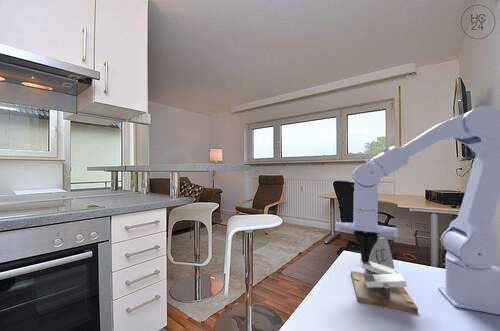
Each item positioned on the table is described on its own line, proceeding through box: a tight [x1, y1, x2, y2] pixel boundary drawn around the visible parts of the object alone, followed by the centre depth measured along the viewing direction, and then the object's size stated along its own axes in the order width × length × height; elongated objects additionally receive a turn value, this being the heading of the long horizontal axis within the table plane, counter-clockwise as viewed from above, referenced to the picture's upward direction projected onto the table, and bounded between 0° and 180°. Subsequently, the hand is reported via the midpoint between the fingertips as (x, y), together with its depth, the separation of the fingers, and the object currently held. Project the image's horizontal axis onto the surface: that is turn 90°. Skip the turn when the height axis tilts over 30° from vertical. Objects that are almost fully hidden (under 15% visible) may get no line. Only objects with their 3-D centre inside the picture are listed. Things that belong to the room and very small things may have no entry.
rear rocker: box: [359, 258, 398, 274], centre depth 56 cm, size 8×4×2 cm, turn 71°
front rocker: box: [363, 273, 408, 288], centre depth 50 cm, size 8×4×2 cm, turn 71°
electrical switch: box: [364, 237, 396, 274], centre depth 66 cm, size 9×5×9 cm, turn 116°
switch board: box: [350, 270, 419, 314], centre depth 53 cm, size 12×13×3 cm
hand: (364, 260), depth 57 cm, fingers closed
